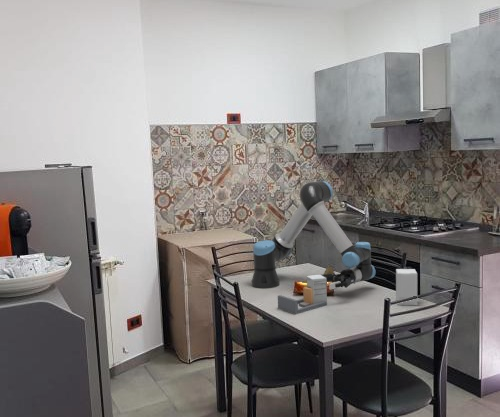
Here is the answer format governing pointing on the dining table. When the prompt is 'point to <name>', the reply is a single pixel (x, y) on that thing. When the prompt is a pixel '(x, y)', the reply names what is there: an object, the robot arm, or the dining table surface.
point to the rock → (329, 272)
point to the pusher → (307, 297)
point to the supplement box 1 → (318, 287)
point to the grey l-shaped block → (295, 305)
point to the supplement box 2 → (406, 285)
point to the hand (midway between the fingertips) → (319, 284)
